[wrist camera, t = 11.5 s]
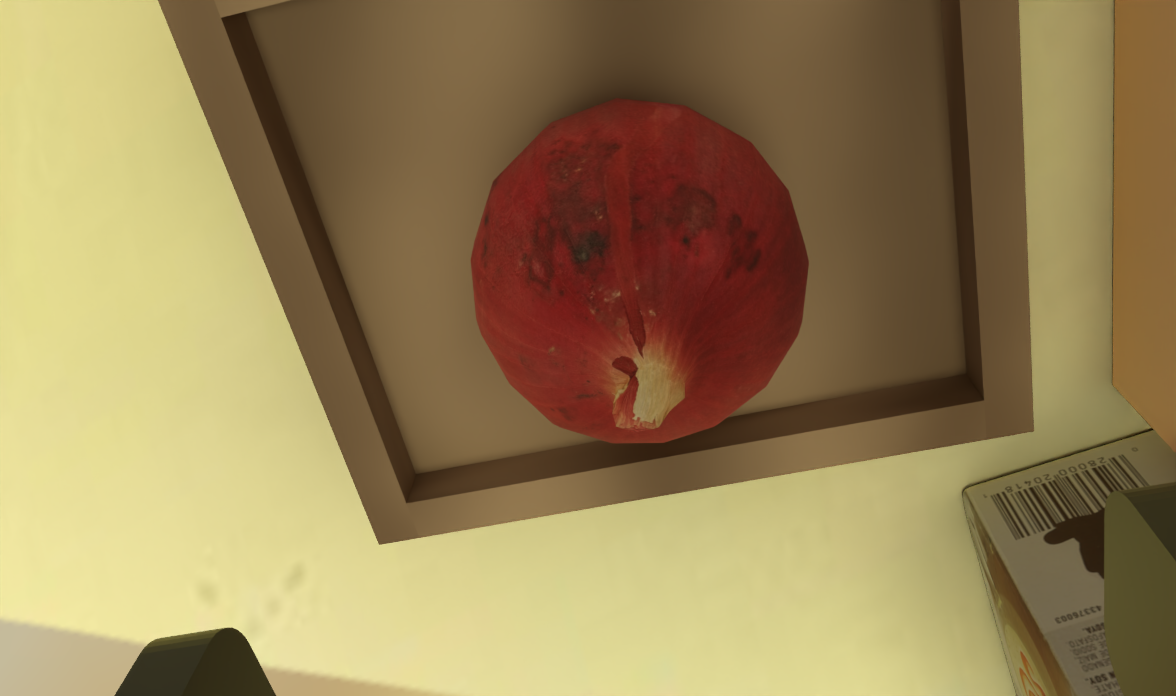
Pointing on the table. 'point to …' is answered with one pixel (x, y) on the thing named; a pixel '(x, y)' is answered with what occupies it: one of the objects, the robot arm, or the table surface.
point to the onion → (638, 272)
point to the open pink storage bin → (1145, 211)
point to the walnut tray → (575, 83)
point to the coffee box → (1057, 561)
